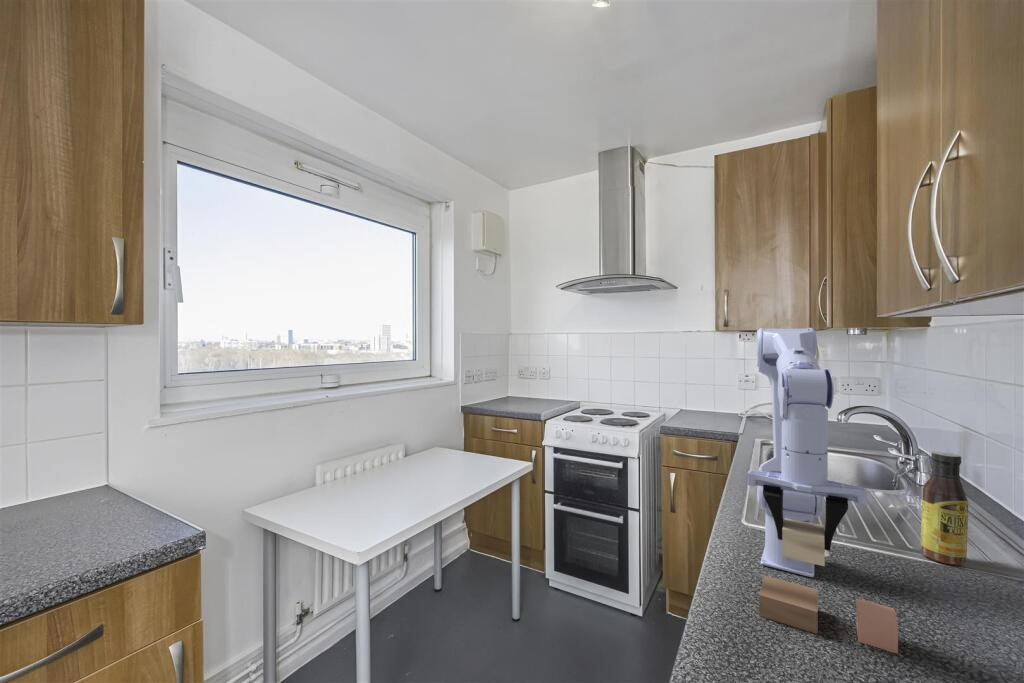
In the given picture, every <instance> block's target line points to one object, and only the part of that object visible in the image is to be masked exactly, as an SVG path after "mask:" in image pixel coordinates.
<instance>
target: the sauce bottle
mask: <svg viewBox="0 0 1024 683" xmlns="http://www.w3.org/2000/svg"><path fill="white" fill-rule="evenodd" d="M930 455H931V456H930V458H931V460H932V467H931V468H932V469H931V477H929V479H928V480H927V481H926V482H925V483H924V485H923V488H922V489H923V490H922V499H921V519H920V521H921V523H920V524H921V525H920V541H919V542H920V545H921V549H920V551H921V555H923V556H924V557H925V556H926V557H925V558H927V557H928V559H930V560H932V561H934V562H938V563H942V564H946V565H950V566H957V565H959V566H963V565H964V564H965V563H966V561H967V560H966V558H967V553H968V529H969V528H968V526H969V524H968V523H969V500H968V498H967V496H966V492H965V491H964V488H963V484H962V482H961V475H960V471H961V470H960V469H961V468H960V466H961V464H962V456H961V455H959V454H954V453H949V452H943V451H932V452H931V454H930ZM962 564H963V565H962Z"/></svg>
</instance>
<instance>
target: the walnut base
mask: <svg viewBox="0 0 1024 683" xmlns="http://www.w3.org/2000/svg"><path fill="white" fill-rule="evenodd" d="M818 592H819V589H817V588H813V587H810V586H806V585H802V584H799V583H796V582H795V583H794V582H790V581H787V580H783V579H779V578H777V577H773V576H768V575H763V578H762V582H761V587H760V590H759V594H758V597H759V598H758V616H759V617H762V618H765V619H768V620H772V621H775V622H778V623H781V624H784V625H788V626H790V627H794V628H797V629H800V630H803V631H806V632H810V633H812V634H816V635H817V634H818V628H819V627H818V625H819V624H818V620H819V619H818V612H819V611H818V607H819V606H818V602H819V600H818V598H819V597H818V595H819V593H818Z"/></svg>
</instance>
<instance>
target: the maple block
mask: <svg viewBox="0 0 1024 683" xmlns="http://www.w3.org/2000/svg"><path fill="white" fill-rule="evenodd" d="M824 531H825V525H824V524H818V523H813V522H812V523H808V522H802V521H797V520H791V519H786V518H784V523H783V528H782V549H783V557H786V558H790V559H795V560H799V561H803V562H808V563H812V564H814V565H818V566H821V567H825V566H826V563H825V562H826V561H825V560H826V559H825V558H826V557H825V555H826V554H825V551H826V550H825V544H824Z"/></svg>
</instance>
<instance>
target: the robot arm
mask: <svg viewBox="0 0 1024 683" xmlns="http://www.w3.org/2000/svg"><path fill="white" fill-rule="evenodd" d="M755 338H756V341H755V348H756V351H755V352H756V365H757V367H758V372H759V373H761V374H762V375H765V376H766V377H767V378H768V381H769V386H770V388H771V407H772V408H771V411H772V412H771V414H772V415H771V416H772V442H773V445H772V446H773V457H772V458H770V459H769V460H767V461H765V462H763V463H761V464H760V465H759V467H758V468H757V470H751V469H750V470H748V472H747V486H750V487H751V486H752V487H756V488H757V489H756V499H757V505H758V506H759V507H760V509H762V510H764V512H765V520H764V522H765V524H764V525H765V528H764V531H765V532H764V533H765V534H764V536H765V538H764V540H765V541H764V549H763V551H762V554H761V557H760V558H761V559H760V565H762V566H766V567H769V568H772V569H773V568H774V569H778V570H782V571H786V572H788V573H792V574H797V575H801V576H805V577H809V578H814V577H815V564H812V563H808V562H803V561H799V560H795V559H790V558H786V557H783V549H782V528H783V523H784V518H786V519H791V520H797V521H802V522H808V523H813V522H815V518H818V517H819V516H821V515H822V514H823V510H824V498H825V522H824V523H825V525H824V544H825V551H828V552H829V551H831V548H832V547H831V546H832V542H833V538H834V535H835V533H836V530H837V528H838V527H839V524H840V522H841V521H842V519H843V518H844V516H845V515H846V513H847V512H848V510H849V502H854V503H856V504H860V505H865V506H867V505H868V491H867V490H868V489H867V488H866V487H864V486H858V485H852V484H847V483H843V482H842V483H841V482H837V481H833V480H829V479H828V469H829V467H828V460H829V458H828V457H829V456H828V454H829V452H828V451H829V450H828V448H829V447H828V446H829V445H828V444H829V438H828V436H829V430H828V429H829V410H830V409H831V408H832V406H833V402H834V397H835V396H834V395H835V383H834V378H833V374H832V370H831V369H830V368H827V367H826V368H825V367H823V368H822V369H821V368H820V365H819V362H818V361H817V358H816V356H817V348H818V338H817V332H816V330H814V328H812V327H807V328H764V327H759V329H758V330H756V337H755ZM826 407H827V408H826ZM828 409H829V410H828Z"/></svg>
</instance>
